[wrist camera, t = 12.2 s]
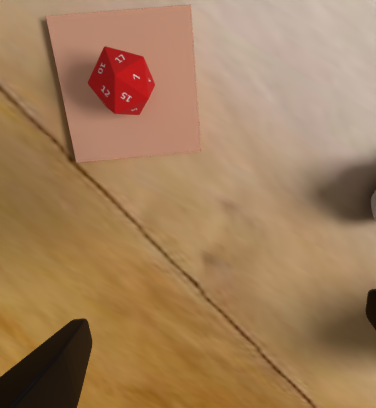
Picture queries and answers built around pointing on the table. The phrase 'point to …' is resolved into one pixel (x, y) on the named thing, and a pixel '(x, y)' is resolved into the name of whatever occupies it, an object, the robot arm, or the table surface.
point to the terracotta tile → (159, 68)
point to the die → (122, 81)
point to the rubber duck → (373, 204)
